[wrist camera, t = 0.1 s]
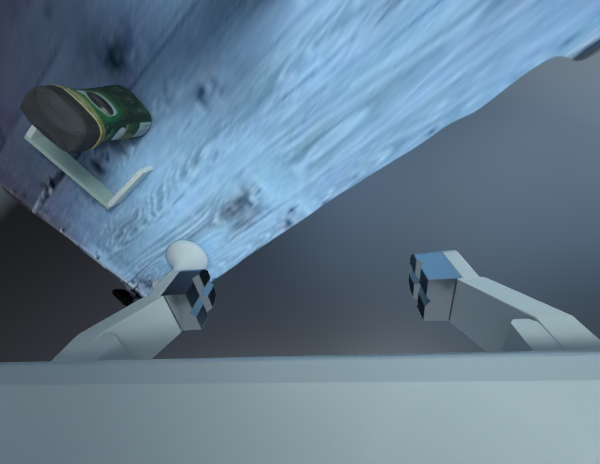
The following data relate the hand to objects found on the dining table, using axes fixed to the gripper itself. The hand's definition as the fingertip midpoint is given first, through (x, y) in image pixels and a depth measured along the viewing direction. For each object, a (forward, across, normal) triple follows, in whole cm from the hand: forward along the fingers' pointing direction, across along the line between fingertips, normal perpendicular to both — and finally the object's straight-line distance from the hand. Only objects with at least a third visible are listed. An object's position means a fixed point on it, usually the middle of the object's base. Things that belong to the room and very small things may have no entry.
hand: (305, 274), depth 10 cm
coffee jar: (+48, +39, -8) cm, 62 cm away
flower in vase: (+48, +38, +27) cm, 67 cm away
